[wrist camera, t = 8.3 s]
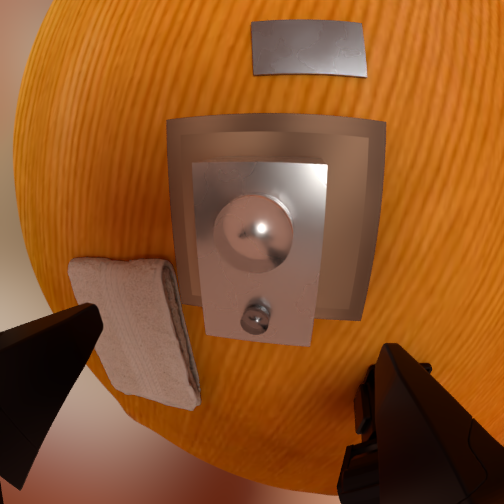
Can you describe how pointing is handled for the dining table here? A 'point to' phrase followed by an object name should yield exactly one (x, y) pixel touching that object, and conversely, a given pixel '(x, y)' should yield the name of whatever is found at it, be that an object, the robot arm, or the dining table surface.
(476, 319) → the dining table surface
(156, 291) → the washcloth
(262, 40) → the cover plate
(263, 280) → the housing
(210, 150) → the tray
